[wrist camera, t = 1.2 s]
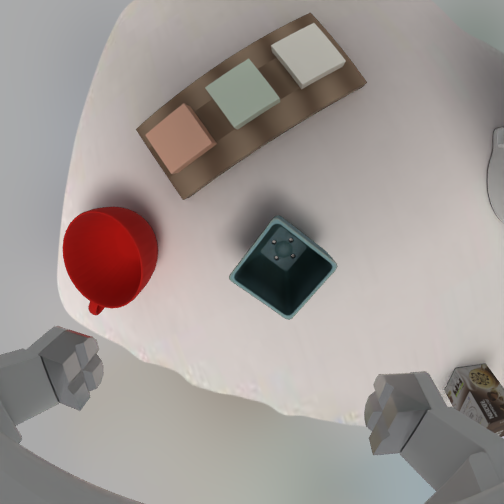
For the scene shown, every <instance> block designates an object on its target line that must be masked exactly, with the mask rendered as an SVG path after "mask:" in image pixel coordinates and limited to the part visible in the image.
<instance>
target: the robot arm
mask: <svg viewBox="0 0 504 504" xmlns="http://www.w3.org/2000/svg"><path fill="white" fill-rule="evenodd" d="M493 147H494V148H493V153H492V156H491V159H490V163H489V168H488V180H487V181H488V193H489V198H490V202H491V205H492V208H493V210H494V212H495V214H496V215H497V217H498V218H499V219H500V220H501V221H502V222H503V223H504V127H501V128H497V129H495V131H494V135H493ZM98 350H99V347H98V343H97V340H96V339H95V338H93V337H90V336H87V335H84V334H81V333H78V332H75V331H72V330H68V329H65V328H62V327H59V326H56V327H53V328H52V329H50V330H49V331H48V332H47V333H45V334H44V335H43V336H42V337H41V338H40V339H38V340H37V341H36V342H35V343H34V344H32V345H31V346H30V347H29V348H28V349H26V350H25V349H20V350H16V351H12V352H9V353H5V354H2V355H0V504H144V503H141V502H137V501H135V500H132V499H129V498H126V497H123V496H120V495H118V494H115V493H112V492H110V491H108V490H105V489H103V488H100V487H98V486H96V485H93V484H91V483H89V482H87V481H84V480H82V479H80V478H78V477H76V476H74V475H72V474H70V473H68V472H66V471H64V470H62V469H60V468H59V467H57V466H55V465H53V464H51V463H49V462H48V461H46V460H44V459H43V458H41V457H39V456H37V455H36V454H34V453H33V452H31V451H29V450H28V449H26V448H24V447H23V446H22V445H20V444H19V443H20V442H21V440H22V436H21V434H20V433H19V431H18V430H17V428H16V425H18V424H20V423H22V422H24V421H26V420H28V419H30V418H32V417H34V416H36V415H38V414H40V413H42V412H44V411H46V410H48V409H49V408H52V407H53V406H56V405H57V404H59V403H62V404H64V405H66V406H69V407H72V408H74V409H77V410H81V409H82V408H83V406H84V405H85V404H86V402H87V401H88V400H89V398H90V392H89V391H91V390H94V389H96V388H97V387H98V386H99V385H100V383H101V381H102V377H103V373H104V372H103V363H102V360H101V359H100V358H99V356H98V355H97V352H98ZM374 388H375V392H373V393H372V394H371V395H370V396H369V397H368V400H367V402H366V405H365V412H364V416H365V423H366V427H368V428H369V429H370V430H371V431H372V433H371V435H370V437H369V440H370V444H371V449H372V453H373V455H384V454H393V453H394V454H395V453H400V455H401V456H402V457H403V458H404V459H405V460H406V461H407V462H408V463H409V464H410V465H411V466H412V467H413V468H414V469H415V470H416V471H417V472H418V473H419V474H420V475H421V476H422V477H423V478H424V479H425V480H426V481H427V482H428V483H429V484H430V485H431V486H432V487H433V488H434V489H435V490H436V491H437V492H436V493H434V494H433V495H432V496H431V497H430V498H429V499H428V500H427V501H426V502H425V504H504V439H503V438H502V437H500V436H498V435H497V434H495V433H493V432H492V431H490V430H488V429H487V428H485V427H484V426H482V425H480V424H479V423H477V422H475V421H474V420H472V419H471V418H469V417H467V416H466V415H464V414H463V413H461V412H459V411H458V410H456V409H455V408H453V407H447V405H446V403H445V402H444V400H443V398H442V396H441V394H440V393H439V391H438V389H437V387H436V385H435V384H434V382H433V380H432V378H431V377H430V375H429V373H427V372H425V371H424V372H411V373H399V374H379V375H378V376H377V378H376V380H375V382H374Z"/></svg>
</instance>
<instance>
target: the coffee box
mask: <svg viewBox="0 0 504 504" xmlns="http://www.w3.org/2000/svg"><path fill="white" fill-rule="evenodd" d="M445 392H446V394H447V396H448V398H449V400H450V402H451V404H452V406H453V408H455V409H456V410H458V411H459V412H461V413H463V414H464V415H466V416H467V417H469V418H471V419H472V420H474V421H475V422H477V423H479V424H480V425H482V426H484V427H485V428H487V429H488V430H490V431H492V432H493V433H495V434H497V435H498V436H500V437H503V436H504V388H503V387H502V385H501V384H500V383H499V381H498V380H497V378H496V377H495V376H494V374H493V373H492V372H491V370H490V369H489V368H488V366H487V365H486V364H481V365H475V366H469V367H462V368H456V369H455V370H454V372H453V374H452V377H451V379H450V381H449V383H448V385H447V387H446V388H445Z"/></svg>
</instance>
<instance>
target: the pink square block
mask: <svg viewBox="0 0 504 504" xmlns="http://www.w3.org/2000/svg"><path fill="white" fill-rule="evenodd" d="M145 136H146V137H147V139H148V140H149V142H150V143H151V145H152V146H153V148H154V149H155V151H156V152H157V154H158V155H159V157H160V158H161V159H162V161H163V162H164V164H165V165H166V167H167V168H168V170H169V171H170V173H171V174H174V173H179V172H180V171H182V170H183V169H184V168H185V167H187V166H188V165H189V164H191V163H192V162H193V161H195V160H196V159H197V158H199V157H200V156H201V155H203V154H204V153H205V152H207V151H208V150H210V149H211V148H212V147H214V146H215V145H216V144H217V143H216V142H215V140H214V139H213V137H212V136H211V135H210V133H209V132H208V130H207V129H206V128H205V126H204V125H203V123H202V122H201V121H200V119H199V118H198V116H197V115H196V114H195V112H194V111H193V109H192V108H191V107H190V106H188V105H186V104H182V105H181V106H180V107H178V108H177V109H176V110H175V111H173V112H172V113H171V114H170V115H168V116H167V117H166V118H165V119H163V120H162V121H161V122H160V123H159V124H157V125H156V126H155V127H154V128H153V129H151V130H150V131H149V132H148V133H147V134H146V135H145Z"/></svg>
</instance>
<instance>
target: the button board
mask: <svg viewBox="0 0 504 504" xmlns="http://www.w3.org/2000/svg"><path fill="white" fill-rule="evenodd" d="M313 23H315V24H316V25H317V27H318V28H319V29H320V30H321V31H322V32H323V33H324V35H325V36H326V37H327V38H328V39H329V40H330V42H331V43H332V44H333V45H334V47H335V48H336V49H337V50H338V52H339V53H340V54H341V55H342V57H343V58H344V59H345V60H346V62H345V63H344V65H343V67H341V68H339V69H338V70H336V71H334V72H332V73H330V74H328V75H326V76H324V77H323V78H321V79H319V80H317V81H315V82H314V83H312V84H310V85H308V86H307V87H305V88H303V89H301V88H300V87H299V85H298V84H297V83H296V81H295V80H294V79H293V77H292V76H291V75H290V74H289V72H288V71H287V70H286V69H285V67H284V66H283V65H282V64H281V62H280V61H279V60H278V59H277V57H276V56H275V55H274V54H273V53H272V48H271V45H272V44H274V43H276V42H278V41H280V40H281V39H283V38H285V37H287V36H289V35H291V34H293V33H295V32H297V31H299V30H301V29H302V28H305V27H307V26H309V25H311V24H313ZM247 59H250V61H251V62H252V63H253V64H254V65H255V67H256V68H257V69H258V70H259V72H260V73H261V74H262V76H263V77H264V78H265V79H266V81H267V82H268V83H269V85H270V86H271V87H272V89H273V90H274V91H275V92H276V94H277V95H278V96H279V98H280V103H278V104H276V105H275V106H273V107H272V108H270V109H269V110H267V111H265V112H264V113H262V114H261V115H259V116H258V117H256V118H255V119H253V120H251V121H250V122H248V123H247V124H245V125H244V126H242V127H241V128H239V129H238V130H237V129H236V128H234V127H233V125H232V124H231V123H230V121H229V120H228V118H227V117H226V116H225V114H224V113H223V112H222V110H221V109H220V107H219V106H218V105H217V103H216V102H215V101H214V99H213V98H212V97H211V95H210V94H209V93H208V91H207V90H206V89H205V87H207V86H208V85H209V84H211V83H212V82H214V81H215V80H217V79H218V78H219V77H221V76H222V75H224V74H225V73H227V72H228V71H230V70H231V69H233V68H234V67H236V66H238V65H239V64H241V63H242V62H244V61H246V60H247ZM366 83H367V82H366V80H365V79H364V78H363V76H362V75H361V73H360V72H359V71H358V69H357V68H356V67H355V65H354V64H353V63H352V61H351V60H350V59H349V57H348V56H347V55H346V53H345V52H344V51H343V50H342V48H341V47H340V46H339V45H338V44H337V42H336V41H335V40H334V39H333V37H332V36H331V35H330V34H329V33H328V32H327V30H326V29H325V28H324V27H323V26H322V25H321V24H320V23H319V21H318V20H317V19H316V18H315V17H314V16H313V15H312V14H311V13H309V14H307V15H305V16H303V17H300V18H298V19H296V20H294V21H292V22H290V23H288V24H286V25H285V26H283V27H281V28H279V29H277V30H275V31H273V32H271V33H270V34H268V35H266V36H264V37H263V38H261V39H259V40H257V41H256V42H254V43H252V44H251V45H249V46H247V47H246V48H244V49H242V50H241V51H239V52H237V53H236V54H234V55H233V56H231V57H230V58H228V59H226V60H225V61H223V62H222V63H220V64H219V65H217V66H216V67H215V68H213V69H212V70H210V71H209V72H207V73H206V74H204V75H203V76H202V77H200V78H199V79H197V80H196V81H195V82H193V83H192V84H191V85H189V86H188V87H187V88H185V89H184V90H183V91H181V92H180V93H179V94H177V95H176V96H175V97H174V98H172V99H171V100H170V101H169V102H167V103H166V104H165V105H164V106H162V107H161V108H160V109H159V110H158V111H156V112H155V113H154V114H153V115H152V116H150V117H149V118H148V119H147V120H146V121H145V122H144V123H142V124H141V125H140V126H139V127H138V128H137V129H136V130H137V132H138V133H139V135H140V136H141V138H142V139H143V141H144V142H145V144H146V145H147V147H148V149H149V150H150V152H151V153H152V155H153V156H154V158H155V159H156V161H157V162H158V164H159V165H160V167H161V168H162V169H163V171H164V172H165V174H166V175H167V177H168V178H169V180H170V181H171V183H172V184H173V186H174V187H175V189H176V190H177V192H178V193H179V195H180V196H181V198H182V199H183V200H184V199H187V198H189V197H190V196H192V195H193V194H195V193H196V192H197V191H199V190H200V189H201V188H203V187H204V186H206V185H207V184H208V183H210V182H211V181H213V180H214V179H215V178H217V177H218V176H220V175H221V174H222V173H224V172H225V171H227V170H228V169H230V168H231V167H233V166H234V165H235V164H237V163H238V162H240V161H241V160H243V159H244V158H246V157H247V156H249V155H250V154H252V153H253V152H255V151H256V150H258V149H259V148H261V147H262V146H264V145H265V144H267V143H268V142H270V141H272V140H273V139H275V138H276V137H278V136H279V135H281V134H283V133H284V132H286V131H287V130H289V129H291V128H292V127H294V126H295V125H297V124H299V123H300V122H302V121H304V120H305V119H307V118H309V117H310V116H312V115H314V114H315V113H317V112H319V111H320V110H322V109H324V108H326V107H327V106H329V105H331V104H333V103H334V102H336V101H338V100H340V99H341V98H343V97H345V96H347V95H349V94H350V93H352V92H354V91H356V90H358V89H360V88H362V87H363V86H364V85H365V84H366ZM182 104H186V105H188V106H190V107H191V108H192V109H193V111H194V112H195V114H196V115H197V116H198V118H199V119H200V121H201V122H202V123H203V125H204V126H205V128H206V129H207V130H208V132H209V133H210V135H211V136H212V137H213V139H214V140H215V142H216V143H217V144H216V145H215V146H214V147H212V148H211V149H210V150H208V151H207V152H205V153H204V154H203V155H201V156H200V157H199V158H197V159H196V160H195V161H193V162H192V163H191V164H189V165H188V166H187V167H185V168H184V169H183V170H182V171H180V172H179V173H174V174H171V173H170V171H169V170H168V168H167V167H166V165H165V164H164V162H163V161H162V159H161V158H160V157H159V155H158V154H157V152H156V151H155V149H154V148H153V146H152V145H151V143H150V142H149V140H148V139H147V137H146V136H145V135H146V134H147V133H148V132H149V131H150V130H151V129H153V128H154V127H155V126H156V125H157V124H159V123H160V122H161V121H162V120H163V119H165V118H166V117H167V116H168V115H170V114H171V113H172V112H173V111H175V110H176V109H177V108H178V107H180V106H181V105H182Z"/></svg>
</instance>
